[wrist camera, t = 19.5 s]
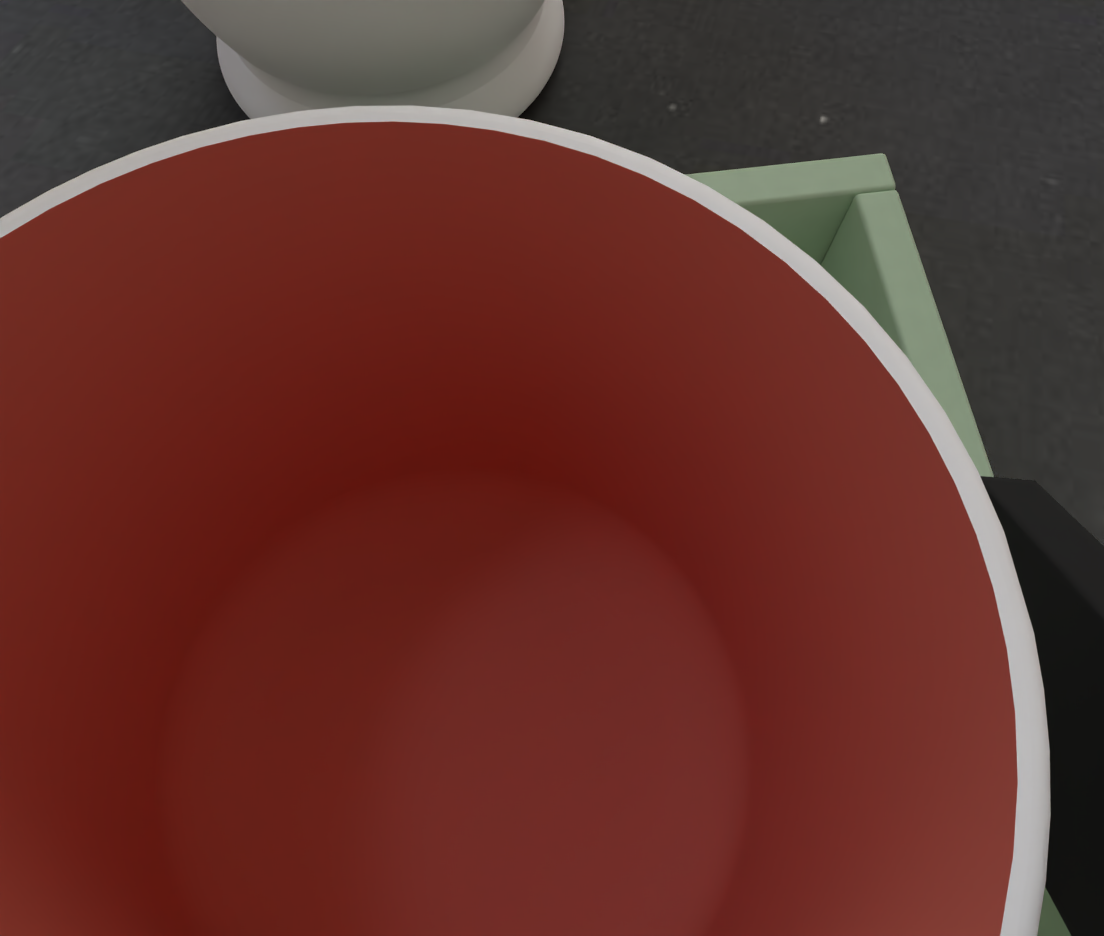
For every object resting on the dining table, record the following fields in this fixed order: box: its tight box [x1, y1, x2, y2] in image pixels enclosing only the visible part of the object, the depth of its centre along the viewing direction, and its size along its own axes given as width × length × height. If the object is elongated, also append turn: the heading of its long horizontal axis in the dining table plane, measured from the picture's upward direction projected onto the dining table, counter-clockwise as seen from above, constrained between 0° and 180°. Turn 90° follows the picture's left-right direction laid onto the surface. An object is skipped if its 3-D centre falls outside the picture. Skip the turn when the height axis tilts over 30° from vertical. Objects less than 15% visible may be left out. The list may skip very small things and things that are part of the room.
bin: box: [686, 153, 1071, 936], centre depth 14 cm, size 18×18×4 cm
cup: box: [0, 105, 1051, 936], centre depth 11 cm, size 10×10×10 cm
